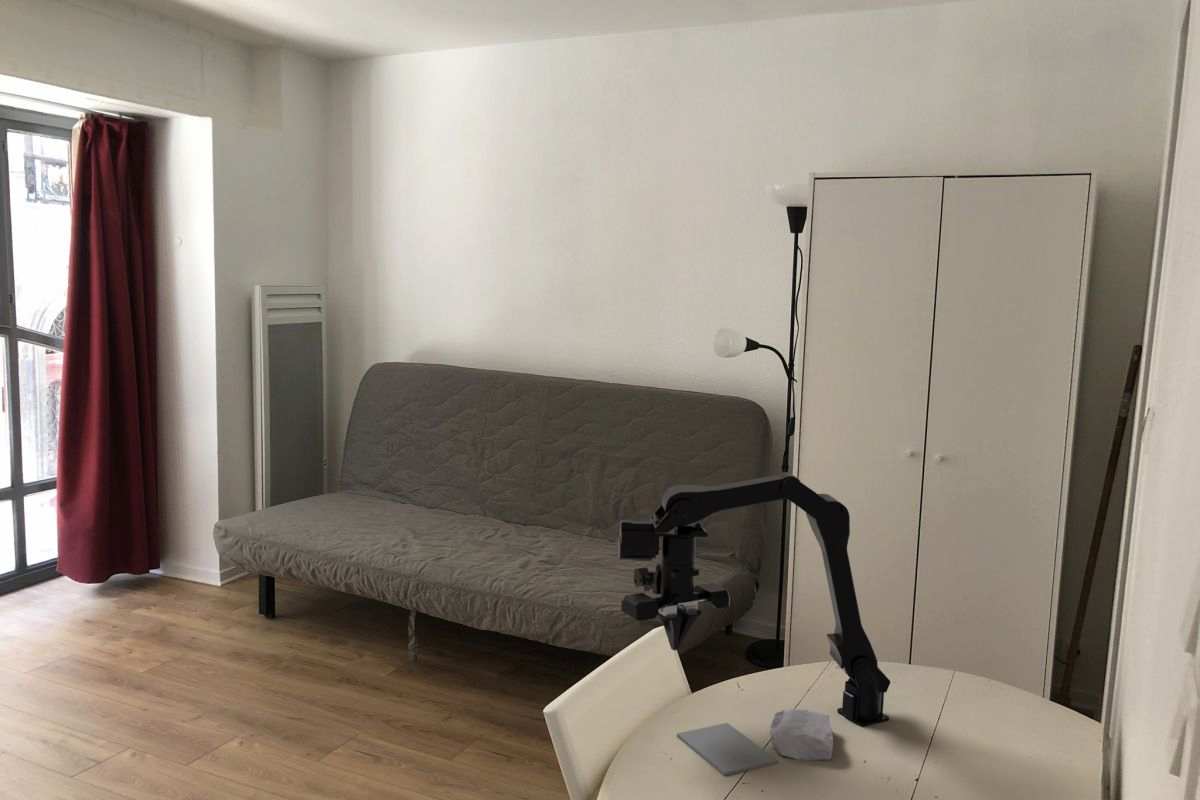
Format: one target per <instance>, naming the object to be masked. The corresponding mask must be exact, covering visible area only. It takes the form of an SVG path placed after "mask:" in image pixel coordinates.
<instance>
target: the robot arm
mask: <svg viewBox="0 0 1200 800" xmlns="http://www.w3.org/2000/svg"><path fill="white" fill-rule="evenodd" d="M783 500H789V501H790V502H791V503H792V504H794V505H795V506H797V507H798V508H800V509H801V510H802V511H803V512H804V513H805V515H806V518H807V521H808V523H809V526H810V528H811V531H812V532H813V534H814V537H815V539H816V541H817V543H818V545H819V547H820V550H821V555H822V560H823V565H824V569H825V576H826V579H827V580H826V581H827V585H828V591H829V596H830V601H831V605H832V611H833V615H834V621H835V627H834V631H833V633H827V634H826V638H827V640H828V643H829V646H830V650H829V655H830V657H831V658H832V659H833V660H834V662H835V663H836V664H837V665H838V667H839V668H840V670H843V671H844V673H845V674H846V675H847V676H848V679H847V680H846V681H845V682H844V690H843V691H842V692H843V693H842V704H841V706H842V707H839V708H837V709H836V710H837V711H836V712H837V713H838V714H840V715H842V716H843V717H845V718H847V719H848V720H849V721H852V722H853V723H855V724H857V725H858V726H860V727H865V726H870V725H875V724H879V723H882V722H883V723H884V722H888V721H889V720H890V716H888V715H887V714H885V713H884V699H885V693H887V691H888V689H889V687H890V684H891V680H890V679H889V678H888V677H887V676H886V674H885V673H884V672H883V671H882V670H881V669H880V668H879V667H878V665H879V664H878V659H877V656H876V654H875V651H874V649H873V646H872V644H871V642H870V640H869V637H868V636H867V633H866V631H865V629H864V628H863V624H862V620H861V615H860V614H861V613H860V609H859V605H858V600H857V595H856V587H855V584H854V578H853V573H852V568H851V562H850V559H849V557H850V556H849V554H848V545H849V541H850V540H849V539H850V534H851V531H850V530H851V526H850V524H851V522H850V521H851V520H850V518H851V517H850V512H849V510H848V508H847V506H846V505H845V504H843V503H842V502H841V501H839V500H838V499H836V498H834V497H833V495H830V494H828V493H817V492H815V491H814V490H813V489H811V488H810V487H808V485H806V484H804V483H803V482H801V481H800V479H798V477H797V476H796V475H794V474H792V473H790V472H787V471H782V472H780V473H778V474H774V475H770V476H764V477H758V478H752V479H748V480H747V479H746V480H741V481H737V482H736V481H735V482H729V483H724V484H719V485H701V484H699V485H698V484H676V485H675V484H674V485H673V486H670V487H668V488H667V489H666V491H665V492H664V493H663V495H662V498H661V504H660V505H659V506H658V507H657V509H656V510H655V511H654V512H653V514H652V515H651V516H649V520H631V519H621V520H620V521H619V523H620V524H619V525H620V526H619V529H618V530H619V532H618V534H619V535H617V559H618V561H625V562H626V561H627V562H629V561H633V562H634V561H635V562H636V561H637V562H641V561H642V562H652V561H653V559H656V557H657V556H659V553H660V537H661V558H660V563H659V562H658V563H656V566H655V571H651V572H650V571H649V569H648V567H640V568H639V567H638V568H634V572H633V581H634V582H633V583H634V587H636V588H641V587H643V592H639V593H637V592H636V593H631V594H625V595H624V597H623V598H622V600H621V605H620V606H621V607H620V609H621V610H620V611H621V612H622V613H625V614H626V615H627V616H629V617H631V618H632V619H634V620H636V621H640V622H643V621H647V620H655V618H656V617H659V618H660V621H661V623H662V625H663V628H664V630H665V634H666V637H667V640H668V643H669V646H670V649H671V650H672V651H678V650H679V649H680V647H681V645H682V643H683V642H684V640H685V638H686V636H687V634H688V632H689V631H690V630H691V628H692V627H693V624H694V623H695V622H696V621H697V618H699V617H701V616H703V611H701V610H699V607H698V604H702V603H707V602H710V605H711V606H713V608H714V609H717V610H718V609H722V608H724V609H725V608H729V607H730V606H731V605H730V603H731V601H730V600H731V596H730V594H729V591H728V589H726V588H723V587H721V586H720V585H717V584H716V583H713V582H708V583H702V584H696V585H695V577H697V576H699V575H700V569H699V568H696V566H695V565H696V548H697V544H696V543H697V539H696V538H708V536H709V533H708V532H707V530H706V529H705V528H704V527H703V526H702V525H701V523H700V521H703V520H704V519H707V518H708V517H710V516H712V515H713V514H716V513H719V512H721V511H727V510H732V509H739V508H742V507H743V508H745V507H749V506H755V505H760V504H766V503H772V502H777V501H783ZM651 590H652V593H653V594H655V595H659V596H658V597H651V596H650V595H648V594H646V593H644V592H649V591H651Z"/></svg>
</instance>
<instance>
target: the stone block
mask: <svg viewBox="0 0 1200 800" xmlns="http://www.w3.org/2000/svg"><path fill="white" fill-rule="evenodd" d="M772 718H773V719H772V720H771V722H770V723H771V725H770V728H769V734H770V740H771V745H772V748H773V749H775V751H776V752H777V754H779V755H781V756H784V757H787V758H791V759H794V760H800V761H801V760H805V761H806V760H807V761H826V762H828V761H831V759H832V758H833V750H834V735H833V730H832V727H831V725H830V724H831V723H830V716H829V713H827V712H826V713H819V712H816V711H814V710H809V709H802V708H790V709H789V708H788V709H782V710H780V711H777V712H775V713H773V717H772Z"/></svg>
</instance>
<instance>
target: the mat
mask: <svg viewBox="0 0 1200 800" xmlns="http://www.w3.org/2000/svg"><path fill="white" fill-rule="evenodd" d="M676 737H677V738H678V739H679V740H680V741H682V742H683V743H684V744H685V745H687V746H688V747H689V748H690V749H692V751H694V752H695V753H696V754H698V755H699V756H700V757H701V758H702V759H704V760H705V761H706V762H707V763H709V765H711V767H713V768H714V769H716V771H718V772H719V773H720V774H722V775H723V776H724V777H725V776H729V775H734V774H738V773H742V772H745V771H750V770H754V769H758V768H761V767H760V766H762V767H765V765H766V766H769V764H770V765H772V764H773V765H774V764H777V763H778V759H777V758H776V757H775V756H773V755H772V754H771V753H769V752H768V751H766V750H765V749H764V748H762V747H761V746H760V745H758V744H756V743H755V742H754V741H753V740H751V738H749V737H747V736H746V735H744V734H743V733H742V732H740V731H739V730H737V728H735V727H733V726H732V725H731V724H729V723H728V722H724V723H720V724H715V725H710V726H706V727H702V728H701V727H699V728H697V729H692V730H686V731H682V732H678V733H676ZM757 767H758V768H757Z"/></svg>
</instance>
